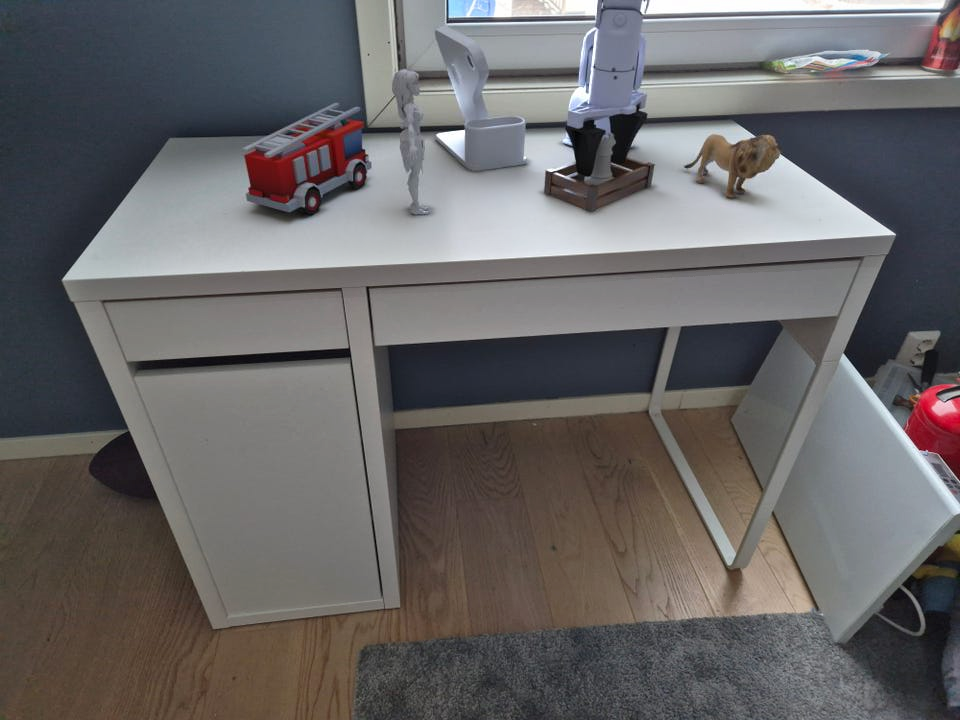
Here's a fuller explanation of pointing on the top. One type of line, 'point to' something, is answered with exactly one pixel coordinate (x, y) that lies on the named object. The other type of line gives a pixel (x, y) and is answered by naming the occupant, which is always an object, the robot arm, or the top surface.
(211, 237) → the top surface
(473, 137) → the phone holder
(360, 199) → the top surface
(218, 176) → the top surface
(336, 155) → the toy fire truck
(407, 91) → the human figurine
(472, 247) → the top surface
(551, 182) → the crate
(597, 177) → the rook chess piece
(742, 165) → the lion figurine
